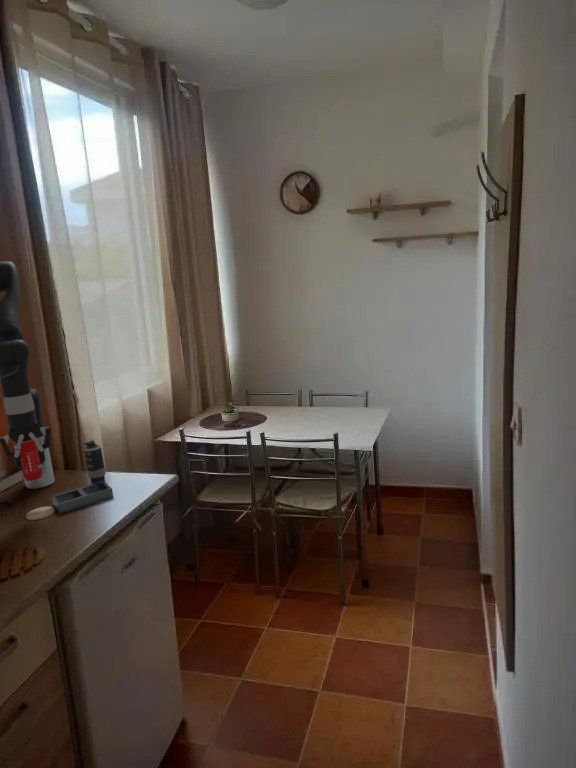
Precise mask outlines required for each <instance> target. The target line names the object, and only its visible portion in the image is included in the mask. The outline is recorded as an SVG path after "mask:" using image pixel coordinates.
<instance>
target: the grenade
mask: <svg viewBox="0 0 576 768" xmlns="http://www.w3.org/2000/svg"><path fill="white" fill-rule="evenodd" d="M82 442H83V440H80V443H79V444H80V446H82ZM84 446H85V447H84V449H83V452H84V458H85V465H86V469H87V470H86V471H87V475H88V478H89V479H90V485H91V484H95V483H98V482H102V481H104V482H105V483H106V479H105V478H106V477H105V476H106V469H105V464H104V457H103V452H102V447H101V445H99V444H97V443H95V439H94V440H93V439H92V440H90V441H87V442H84Z"/></svg>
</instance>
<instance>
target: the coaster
mask: <svg viewBox="0 0 576 768" xmlns="http://www.w3.org/2000/svg"><path fill="white" fill-rule="evenodd" d="M55 512H56V508H55V506H41V507H38V508H37V507H36V508H34V509H32V510H30V511H29V512H27V513H26V514H25V518H26V520H29V521H37V520H38V521H39V520H42V519H46V518H48V517H50V516H52V515H54V513H55Z"/></svg>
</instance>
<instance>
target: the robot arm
mask: <svg viewBox="0 0 576 768" xmlns="http://www.w3.org/2000/svg"><path fill="white" fill-rule="evenodd" d="M3 292H5V294H4V296H2V298H1V299H0V386H1V392H2V398H3V404H4V405H3V406H4V411H5V412H4V413H5V416H6V420H7V425H8V434H6V435H4V436H0V445H1V447H2V449H3V452H4V454H5V455H6V456H7V457H8V458H13V459H14V463H15V467H16V468H17V469H19V470H22V463H21V458H20V456H19V453H20V450H21V447H20V446H19V445H21V442H22V441H29V440H33V441H35V444H36V446H37V448H38V451H39V456H40V461H41V467H42V472H43V473H42V477H41V478H40V479H38V480H34V481H26V480H25V478H24V477H23V479H24V483H25V488H26V487H27V488H26V489H28V488H29V489H30V490H31V489H32V490H34V489H41V488H45V487H47V486H50V485H52V484H54V482H55V480H56V479H55V476H54V471H53V465H52V459H51V454H50V449H49V448H50V446H51V445H50V444H51V428H50V427H49V426H45V424H44V419H43V409H42V403H41V396H40V394H39V391H38V390H37V389H36V388H31V387H30V384H29V383H30V382H29V375H28V374H29V371H28V370H29V361H30V352H31V351H30V347H29V345H28V343H27V342H26V340H25V338H24V337H25V336H24V332H23V330H22V329H21V327H20V321H19V299H20V297H19V296H20V280H19V273H18V269H17V267H16V265H15V264H14V263H13V262H12V261H5V260H4V261H0V293H3ZM9 439H11V440H12V441H13V442H14V446H13V447H14V448H13V451H11V450H10V448H9V446H8V444H9ZM19 442H20V443H19Z"/></svg>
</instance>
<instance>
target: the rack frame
mask: <svg viewBox="0 0 576 768" xmlns="http://www.w3.org/2000/svg"><path fill="white" fill-rule="evenodd" d="M51 498H52V503H53V504H52V505H53V507H54V508H55V510H56V511H57V512H58V514H59V515H61V514H65V513H68V512H71V511H74V510H77V509H81V508H83V507H84V508H85V507H87V506H90V505H94V504H97V503H100V502H103V501H107V500H110V499H113V498H114V492H113V488H112V487H111V486H110V485H109V484H107V482H106V481H105V482H104V481H102V482H98V483H95V484H91V483H90V484H88V485H86V486H81V487H78V488H74V489H70V490H67V491H64V492H61V493H57V494H53V495H51Z"/></svg>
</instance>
